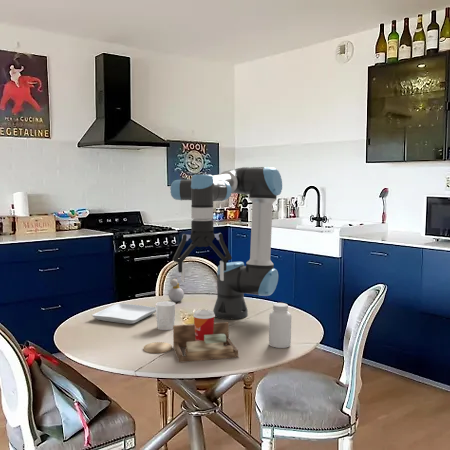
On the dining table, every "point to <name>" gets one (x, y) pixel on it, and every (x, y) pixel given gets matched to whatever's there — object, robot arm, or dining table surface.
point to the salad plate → (124, 313)
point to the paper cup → (203, 323)
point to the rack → (203, 343)
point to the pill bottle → (280, 326)
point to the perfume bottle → (175, 291)
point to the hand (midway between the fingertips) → (202, 281)
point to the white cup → (165, 315)
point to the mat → (157, 347)
